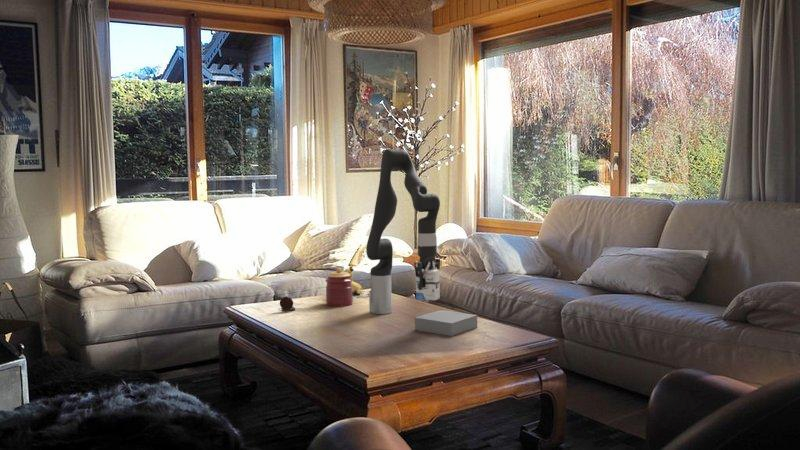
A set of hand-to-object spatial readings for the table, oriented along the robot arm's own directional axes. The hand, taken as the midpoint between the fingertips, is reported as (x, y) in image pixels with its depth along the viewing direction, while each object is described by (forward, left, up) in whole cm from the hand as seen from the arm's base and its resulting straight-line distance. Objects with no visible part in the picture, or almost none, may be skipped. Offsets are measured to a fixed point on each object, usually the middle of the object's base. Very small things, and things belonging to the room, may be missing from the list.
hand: (427, 286), depth 278 cm
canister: (-67, +18, -18) cm, 71 cm away
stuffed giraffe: (-76, +40, -18) cm, 88 cm away
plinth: (+4, +6, -18) cm, 19 cm away
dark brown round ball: (-77, -7, -18) cm, 79 cm away
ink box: (0, 0, -5) cm, 5 cm away
